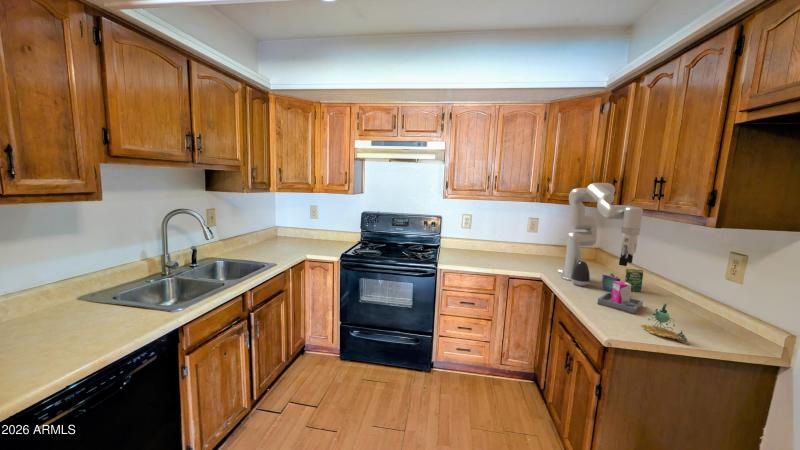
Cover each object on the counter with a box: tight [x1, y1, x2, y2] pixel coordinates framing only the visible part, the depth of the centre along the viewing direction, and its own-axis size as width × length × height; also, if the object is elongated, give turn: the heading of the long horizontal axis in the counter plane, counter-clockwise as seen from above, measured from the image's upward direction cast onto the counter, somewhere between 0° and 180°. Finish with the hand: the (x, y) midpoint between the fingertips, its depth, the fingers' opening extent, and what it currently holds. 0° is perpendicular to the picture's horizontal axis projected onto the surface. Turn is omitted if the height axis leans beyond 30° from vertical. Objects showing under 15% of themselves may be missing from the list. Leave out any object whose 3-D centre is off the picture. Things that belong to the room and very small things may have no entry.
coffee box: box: [624, 268, 644, 293], centre depth 185 cm, size 8×3×13 cm, turn 66°
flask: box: [600, 272, 621, 293], centre depth 182 cm, size 10×3×12 cm, turn 24°
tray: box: [597, 291, 644, 315], centre depth 162 cm, size 16×16×3 cm
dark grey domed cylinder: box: [571, 260, 591, 287], centre depth 193 cm, size 10×10×15 cm
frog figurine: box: [640, 303, 690, 345], centre depth 131 cm, size 10×18×15 cm, turn 13°
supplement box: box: [611, 280, 632, 306], centre depth 161 cm, size 6×6×12 cm
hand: (625, 264), depth 159 cm, fingers open, 9 cm apart
